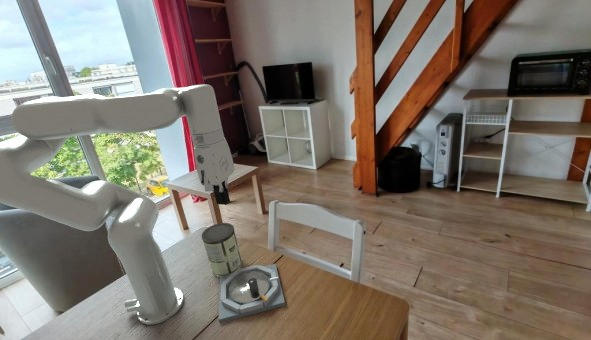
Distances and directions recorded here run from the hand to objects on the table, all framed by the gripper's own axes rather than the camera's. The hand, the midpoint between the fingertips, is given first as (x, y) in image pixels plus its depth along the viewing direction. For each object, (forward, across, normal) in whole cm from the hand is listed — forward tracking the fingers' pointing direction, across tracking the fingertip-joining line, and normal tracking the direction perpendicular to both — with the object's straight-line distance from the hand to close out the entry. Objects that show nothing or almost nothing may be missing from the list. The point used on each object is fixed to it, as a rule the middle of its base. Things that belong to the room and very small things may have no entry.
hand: (223, 202), depth 79 cm
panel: (+29, -2, -3) cm, 29 cm away
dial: (+28, -2, -3) cm, 28 cm away
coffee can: (+29, +7, +10) cm, 32 cm away
